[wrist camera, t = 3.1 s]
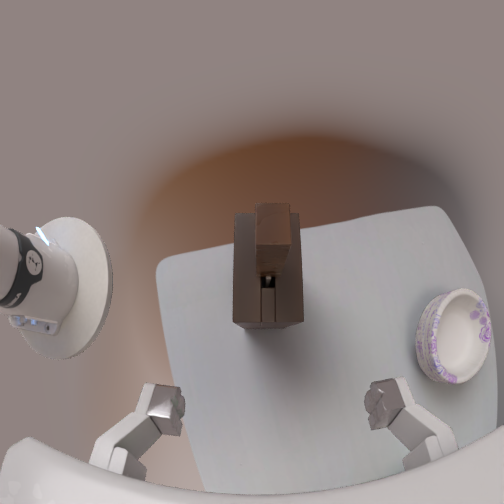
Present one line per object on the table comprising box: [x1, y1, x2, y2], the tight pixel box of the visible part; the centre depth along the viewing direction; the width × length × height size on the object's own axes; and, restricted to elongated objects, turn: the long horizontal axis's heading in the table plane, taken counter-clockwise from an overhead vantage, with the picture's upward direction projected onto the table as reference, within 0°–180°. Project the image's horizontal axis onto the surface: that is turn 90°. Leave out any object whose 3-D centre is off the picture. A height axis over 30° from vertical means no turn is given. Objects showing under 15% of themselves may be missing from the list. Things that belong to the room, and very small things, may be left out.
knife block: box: [233, 213, 304, 329], centre depth 32 cm, size 6×10×18 cm, turn 0°
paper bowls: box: [415, 289, 491, 384], centre depth 34 cm, size 15×15×8 cm
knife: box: [255, 203, 292, 288], centre depth 23 cm, size 2×3×17 cm, turn 0°
